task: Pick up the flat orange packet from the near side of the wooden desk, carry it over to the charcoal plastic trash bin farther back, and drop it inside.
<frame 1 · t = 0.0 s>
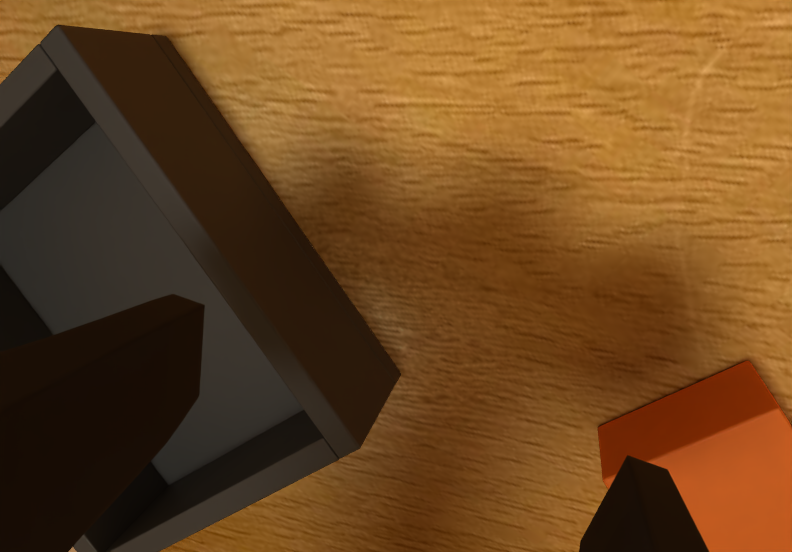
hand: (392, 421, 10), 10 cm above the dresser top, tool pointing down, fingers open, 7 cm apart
packet: (740, 506, 20), on the dresser top
trash bin: (173, 293, 23), on the dresser top
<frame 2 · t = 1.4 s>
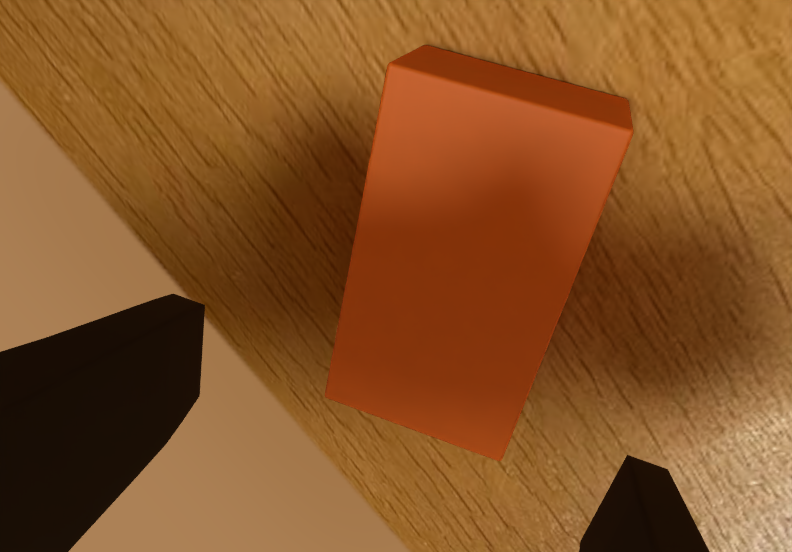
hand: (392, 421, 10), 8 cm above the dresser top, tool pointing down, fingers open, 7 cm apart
packet: (474, 238, 17), on the dresser top
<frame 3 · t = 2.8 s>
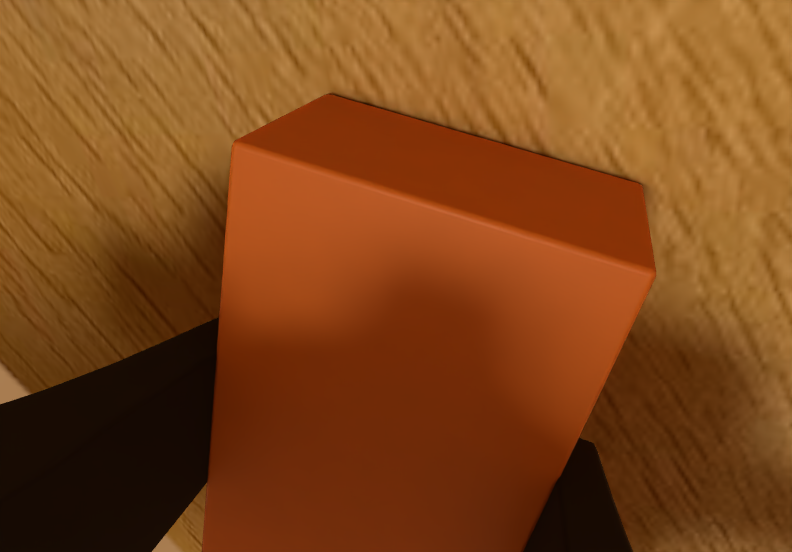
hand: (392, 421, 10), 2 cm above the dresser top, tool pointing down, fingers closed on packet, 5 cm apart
packet: (415, 366, 12), on the dresser top, touching gripper
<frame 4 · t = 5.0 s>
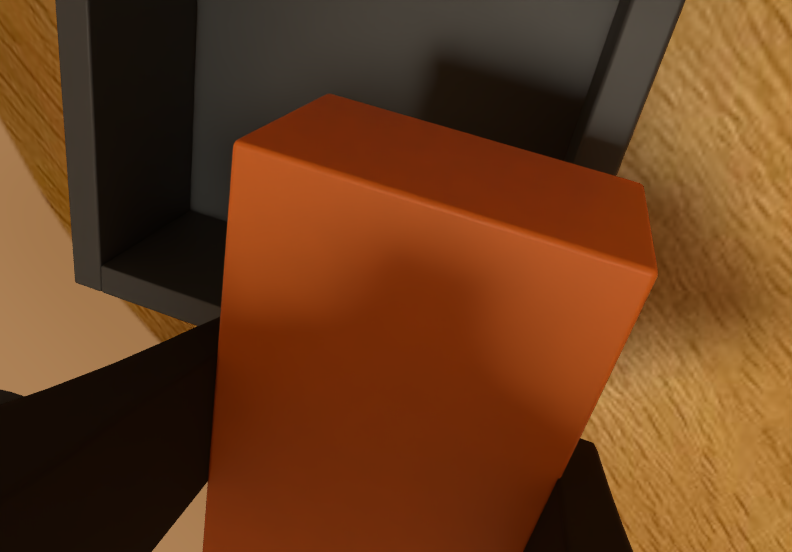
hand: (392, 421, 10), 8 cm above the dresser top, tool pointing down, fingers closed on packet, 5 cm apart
packet: (416, 366, 12), point 7 cm above the dresser top, touching gripper
trash bin: (390, 42, 16), on the dresser top
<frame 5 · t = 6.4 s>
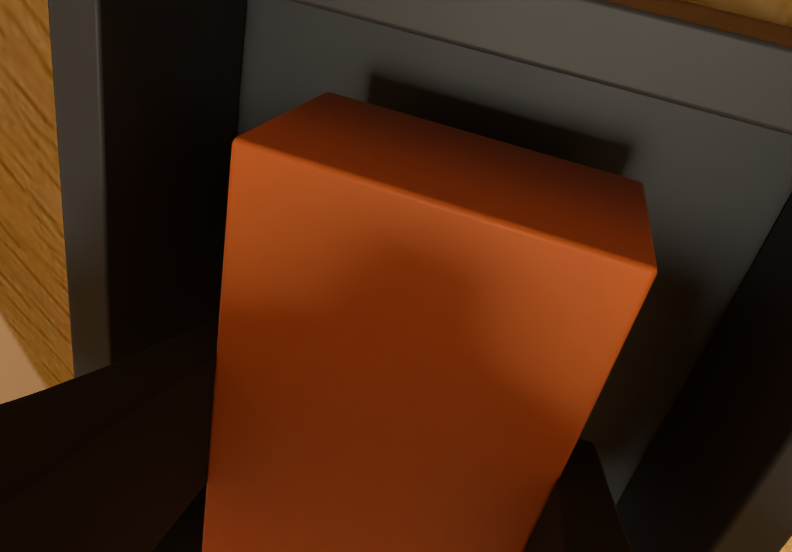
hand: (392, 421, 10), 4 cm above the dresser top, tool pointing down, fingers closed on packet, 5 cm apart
packet: (415, 364, 12), point 3 cm above the dresser top, touching gripper
trash bin: (448, 298, 14), on the dresser top
when the fingers open (2 cm above the dresser top, at t = 7.5 s): packet stays where it is, resting on trash bin.
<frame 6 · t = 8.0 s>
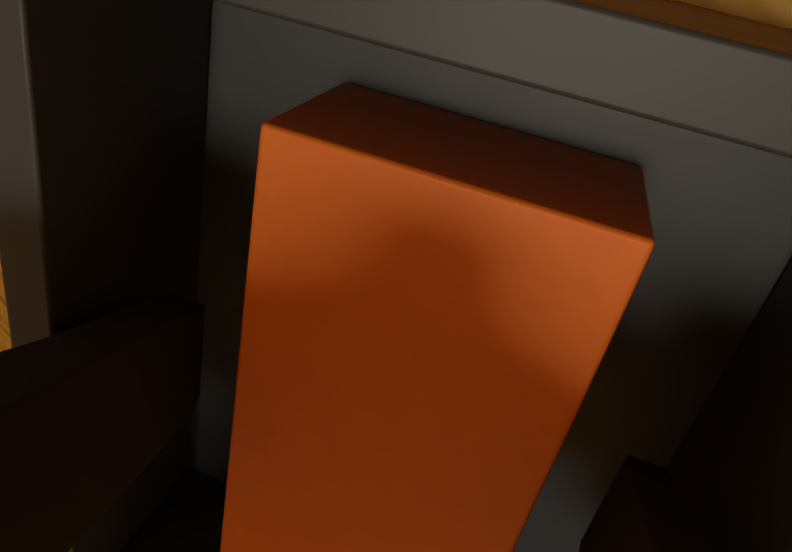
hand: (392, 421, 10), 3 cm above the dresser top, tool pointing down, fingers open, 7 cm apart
packet: (425, 344, 12), point 1 cm above the dresser top, touching trash bin
trash bin: (436, 325, 13), on the dresser top
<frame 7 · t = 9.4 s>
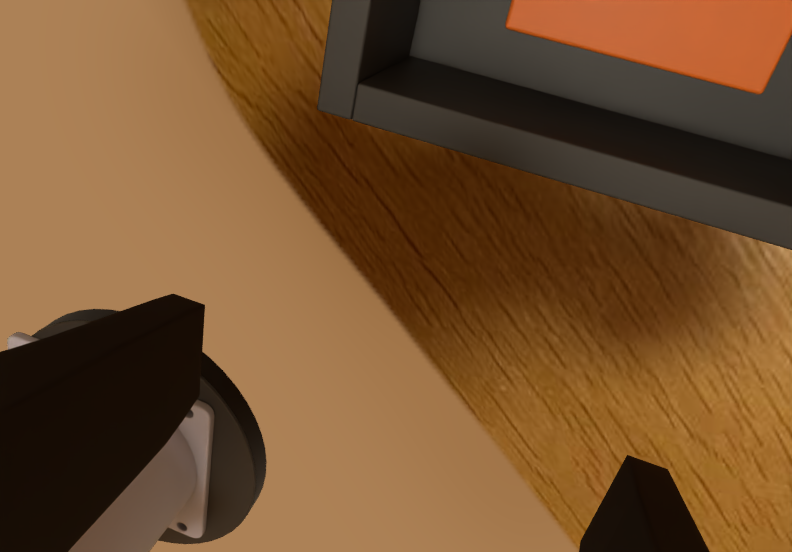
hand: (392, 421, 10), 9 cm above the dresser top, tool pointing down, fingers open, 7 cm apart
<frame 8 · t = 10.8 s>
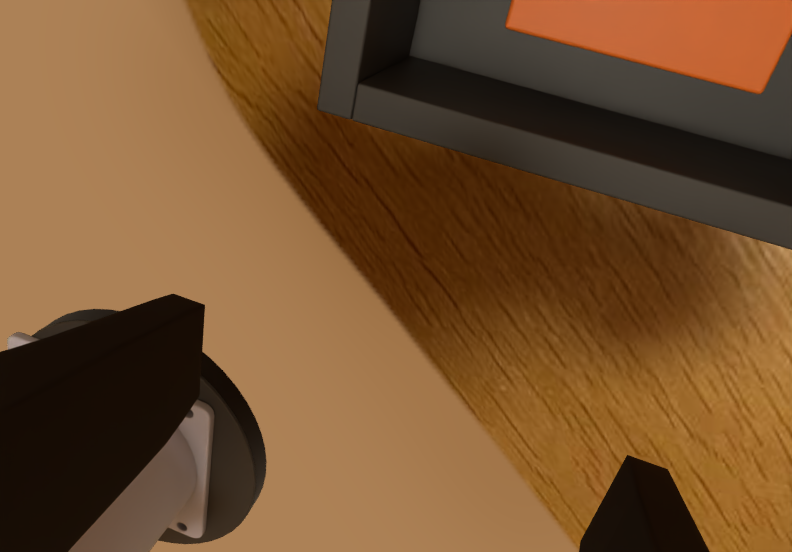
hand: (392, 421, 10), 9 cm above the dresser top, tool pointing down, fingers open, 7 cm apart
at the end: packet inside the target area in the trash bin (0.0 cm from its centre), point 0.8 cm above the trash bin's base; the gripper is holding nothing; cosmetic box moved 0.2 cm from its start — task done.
